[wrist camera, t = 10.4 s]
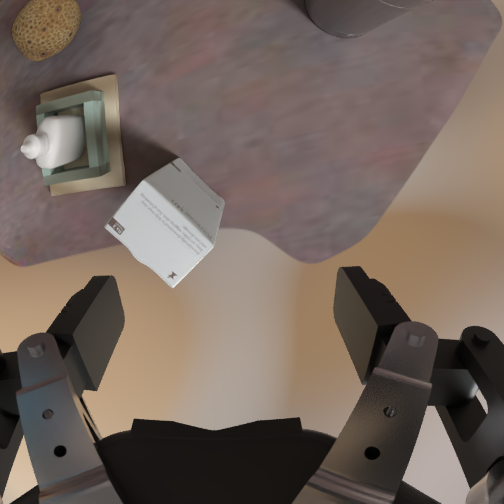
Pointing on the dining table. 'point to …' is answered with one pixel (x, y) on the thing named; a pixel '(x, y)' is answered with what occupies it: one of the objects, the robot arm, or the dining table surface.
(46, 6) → the natural sponge
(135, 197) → the skincare box
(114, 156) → the frame
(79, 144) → the eye dropper bottle
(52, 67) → the dining table surface
